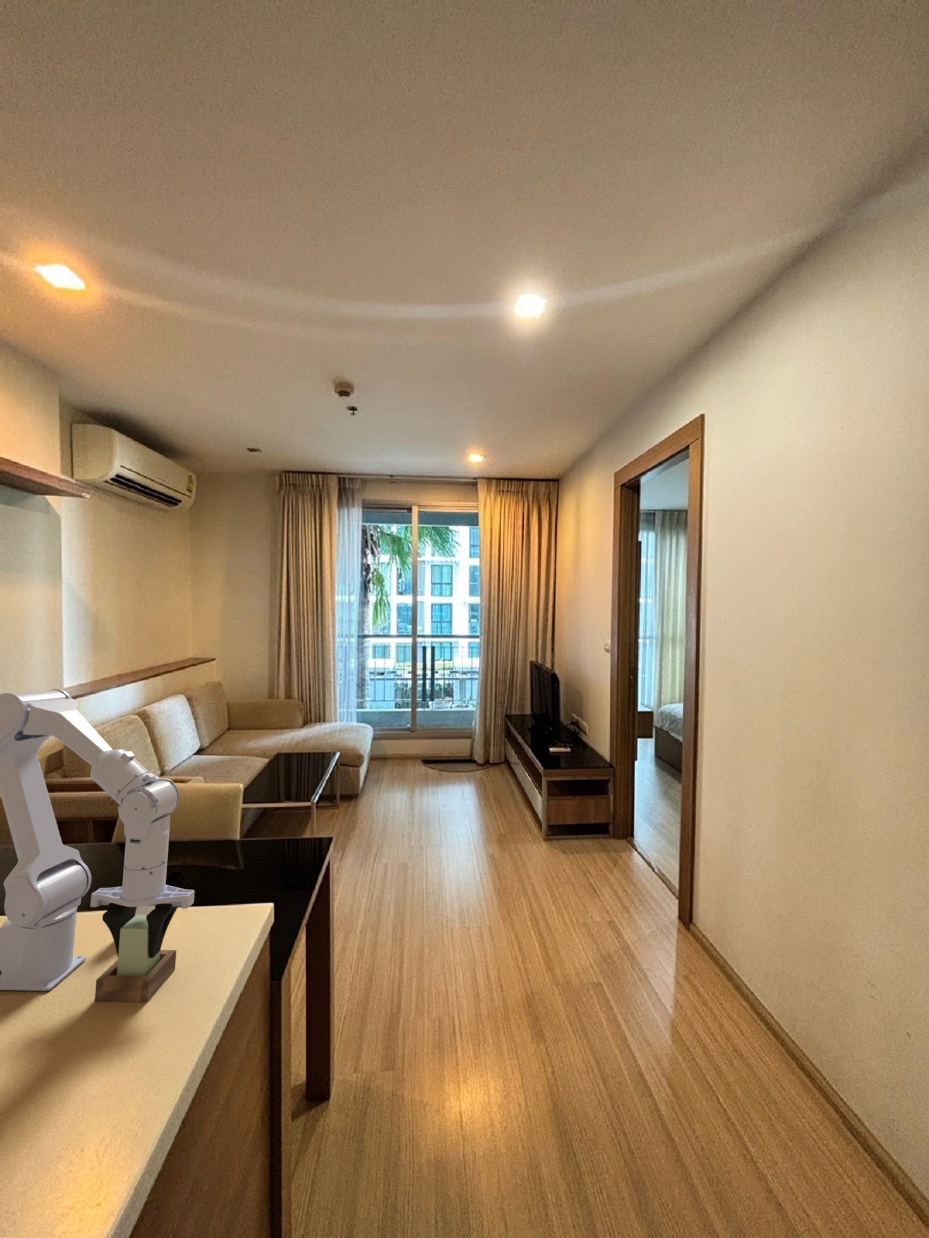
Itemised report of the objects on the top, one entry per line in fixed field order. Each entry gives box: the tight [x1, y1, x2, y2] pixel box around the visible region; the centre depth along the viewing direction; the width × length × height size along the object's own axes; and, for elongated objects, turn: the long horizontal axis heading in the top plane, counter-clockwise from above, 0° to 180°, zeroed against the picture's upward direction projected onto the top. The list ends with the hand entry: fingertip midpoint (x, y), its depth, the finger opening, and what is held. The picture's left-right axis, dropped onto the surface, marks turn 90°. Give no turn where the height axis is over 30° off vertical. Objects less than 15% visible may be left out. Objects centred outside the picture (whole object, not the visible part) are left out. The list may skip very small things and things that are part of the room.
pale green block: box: [117, 915, 160, 976], centre depth 78 cm, size 4×4×7 cm
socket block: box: [94, 949, 177, 1003], centre depth 77 cm, size 8×8×3 cm
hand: (139, 953), depth 78 cm, fingers closed on pale green block, 4 cm apart
